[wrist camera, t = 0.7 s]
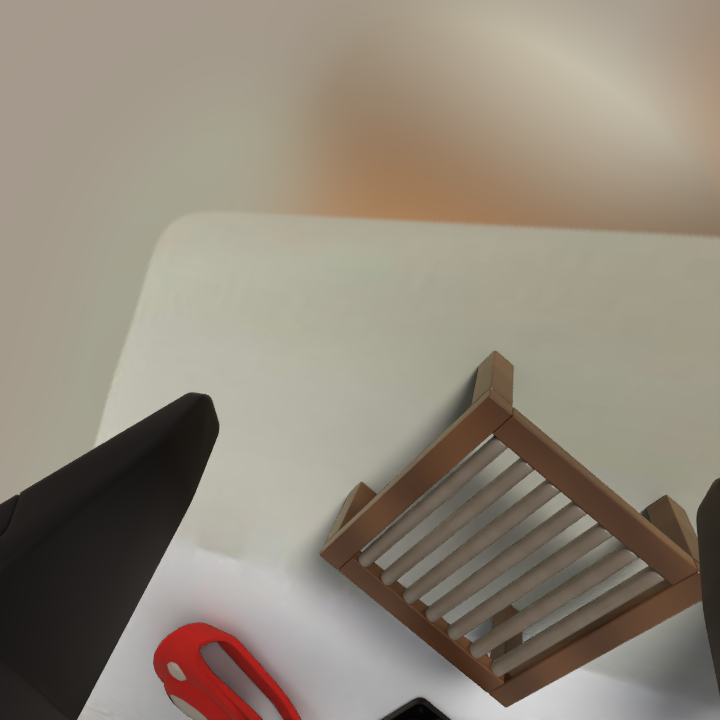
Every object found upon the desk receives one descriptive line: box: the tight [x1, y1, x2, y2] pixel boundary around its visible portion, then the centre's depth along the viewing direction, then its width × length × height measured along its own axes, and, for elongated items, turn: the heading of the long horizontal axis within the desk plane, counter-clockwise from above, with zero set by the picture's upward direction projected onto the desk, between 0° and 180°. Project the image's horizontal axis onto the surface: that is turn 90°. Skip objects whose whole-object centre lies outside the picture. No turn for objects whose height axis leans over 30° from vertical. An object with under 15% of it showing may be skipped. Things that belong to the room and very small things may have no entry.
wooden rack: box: [320, 351, 702, 707], centre depth 26 cm, size 12×12×5 cm
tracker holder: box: [153, 623, 301, 720], centre depth 38 cm, size 12×4×10 cm
